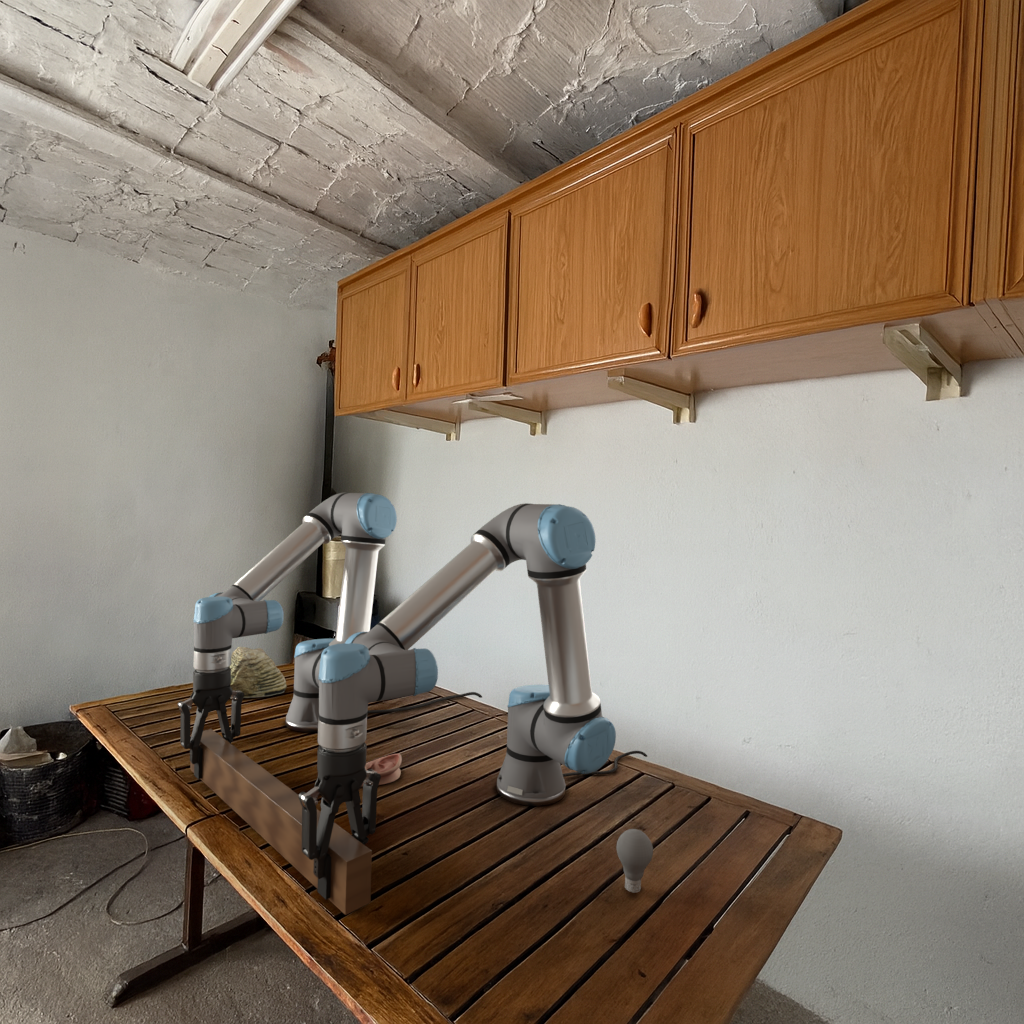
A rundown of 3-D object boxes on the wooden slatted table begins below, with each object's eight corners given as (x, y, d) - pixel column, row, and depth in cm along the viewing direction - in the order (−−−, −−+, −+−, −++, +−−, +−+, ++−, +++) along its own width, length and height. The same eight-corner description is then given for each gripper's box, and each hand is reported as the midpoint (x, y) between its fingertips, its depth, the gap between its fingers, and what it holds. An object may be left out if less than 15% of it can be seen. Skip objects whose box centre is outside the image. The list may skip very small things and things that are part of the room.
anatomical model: (331, 765, 140) (354, 745, 151) (331, 782, 140) (354, 762, 151) (388, 772, 137) (407, 752, 148) (387, 791, 137) (406, 769, 148)
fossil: (218, 695, 195) (220, 647, 195) (278, 685, 208) (279, 640, 207) (228, 703, 189) (230, 653, 188) (289, 692, 201) (290, 645, 201)
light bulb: (610, 879, 108) (613, 822, 108) (644, 879, 109) (647, 822, 109) (619, 902, 102) (622, 840, 102) (655, 901, 103) (658, 840, 103)
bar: (190, 769, 142) (190, 733, 142) (210, 764, 145) (211, 728, 145) (345, 915, 95) (346, 861, 95) (370, 902, 99) (372, 850, 98)
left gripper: (175, 679, 130) (173, 791, 131) (259, 665, 142) (257, 767, 143) (163, 671, 135) (161, 779, 136) (245, 658, 148) (243, 757, 148)
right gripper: (301, 766, 92) (298, 925, 92) (401, 736, 104) (397, 876, 105) (278, 750, 97) (275, 900, 97) (376, 723, 109) (372, 856, 110)
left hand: (210, 773), depth 139 cm, fingers closed on bar, 4 cm apart
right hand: (338, 887), depth 101 cm, fingers closed on bar, 4 cm apart
